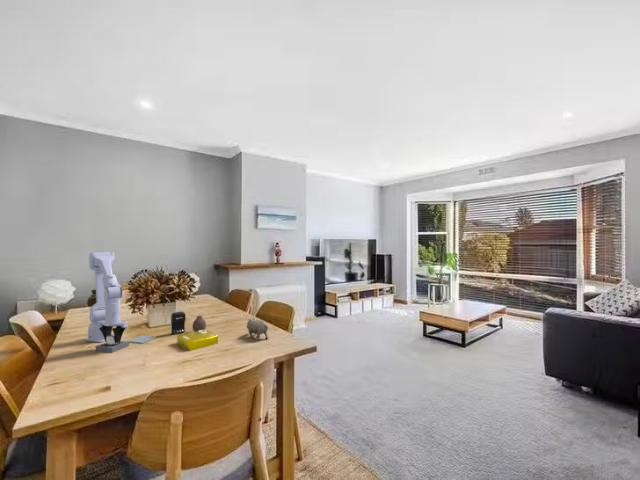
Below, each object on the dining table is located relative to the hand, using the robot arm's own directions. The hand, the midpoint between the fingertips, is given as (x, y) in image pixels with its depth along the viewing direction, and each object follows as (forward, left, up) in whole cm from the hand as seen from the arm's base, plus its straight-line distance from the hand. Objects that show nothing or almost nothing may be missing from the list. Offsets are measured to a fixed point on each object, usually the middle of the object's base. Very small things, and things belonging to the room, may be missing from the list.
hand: (112, 341), depth 141 cm
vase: (+24, +31, -3) cm, 39 cm away
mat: (+4, +13, -3) cm, 14 cm away
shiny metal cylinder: (0, 0, -3) cm, 3 cm away
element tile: (+34, +15, -4) cm, 37 cm away
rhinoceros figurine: (+57, +31, -3) cm, 65 cm away
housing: (0, 0, -3) cm, 3 cm away
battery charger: (+14, +27, -3) cm, 31 cm away
